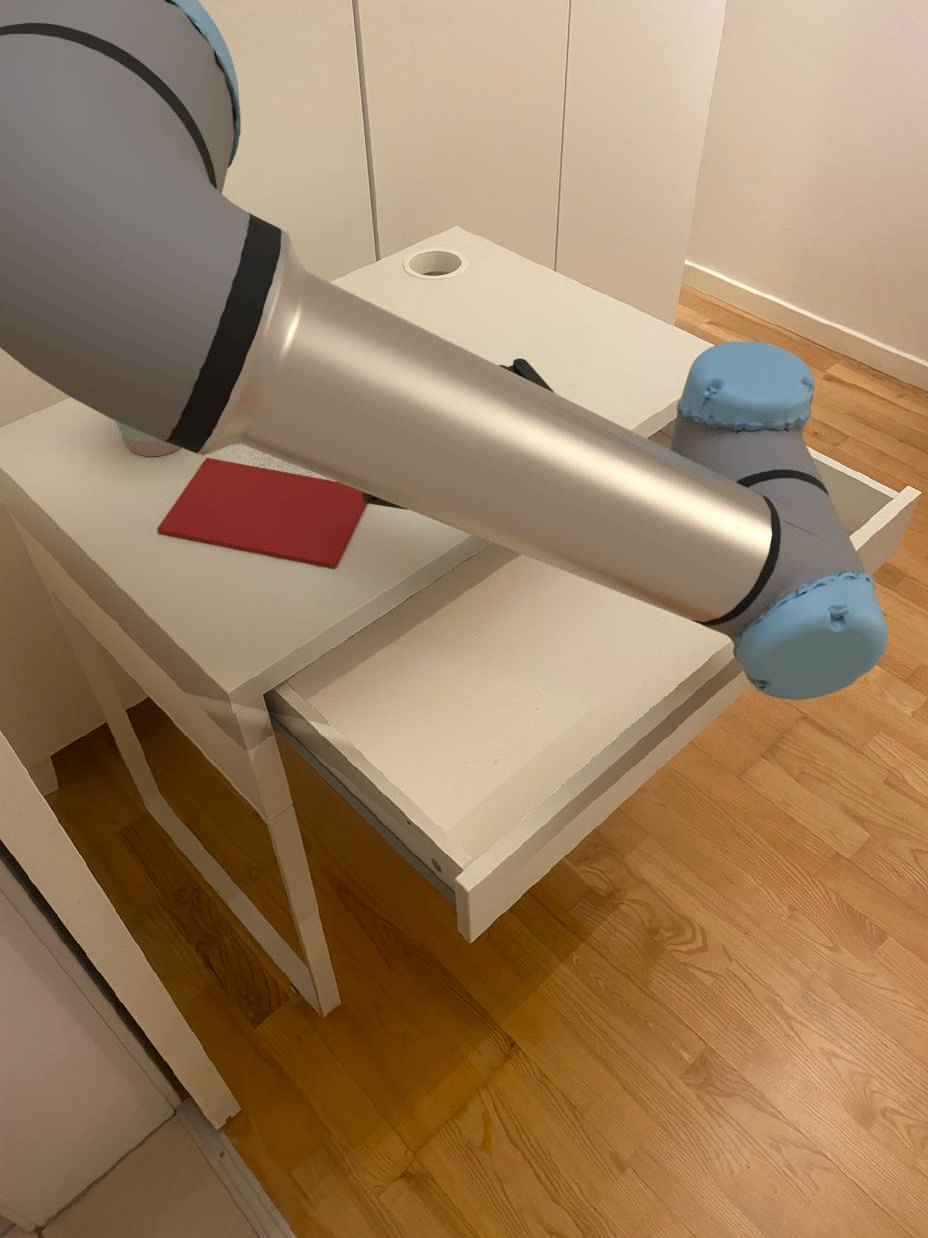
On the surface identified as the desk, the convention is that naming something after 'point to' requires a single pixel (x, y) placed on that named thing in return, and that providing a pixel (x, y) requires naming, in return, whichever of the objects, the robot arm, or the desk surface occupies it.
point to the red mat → (266, 512)
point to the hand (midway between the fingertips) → (376, 390)
